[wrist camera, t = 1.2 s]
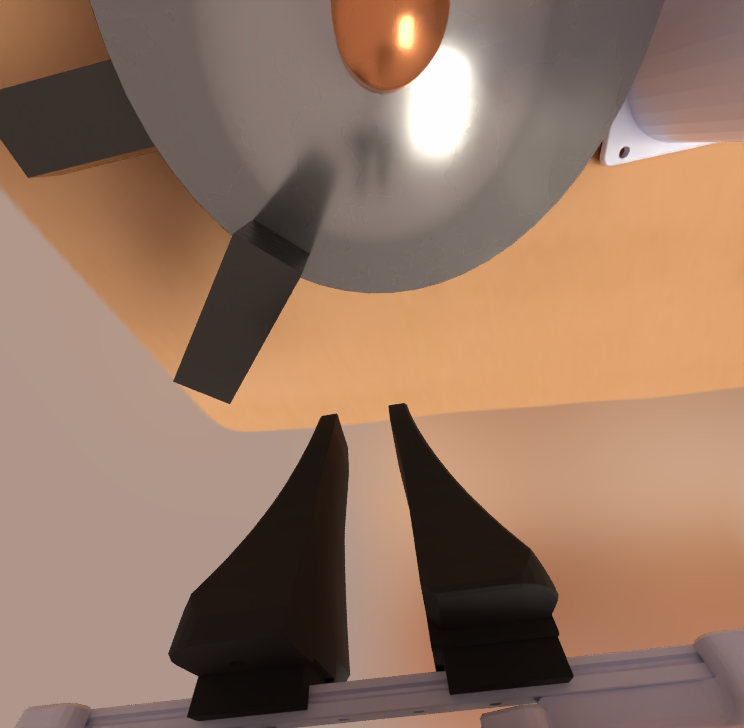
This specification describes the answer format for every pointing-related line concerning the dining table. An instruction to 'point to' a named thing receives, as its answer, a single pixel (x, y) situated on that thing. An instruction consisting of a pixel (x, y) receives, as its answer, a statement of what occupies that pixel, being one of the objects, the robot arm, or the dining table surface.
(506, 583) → the robot arm
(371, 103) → the cooker lid
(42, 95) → the cooker pot
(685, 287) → the dining table surface
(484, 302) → the dining table surface
